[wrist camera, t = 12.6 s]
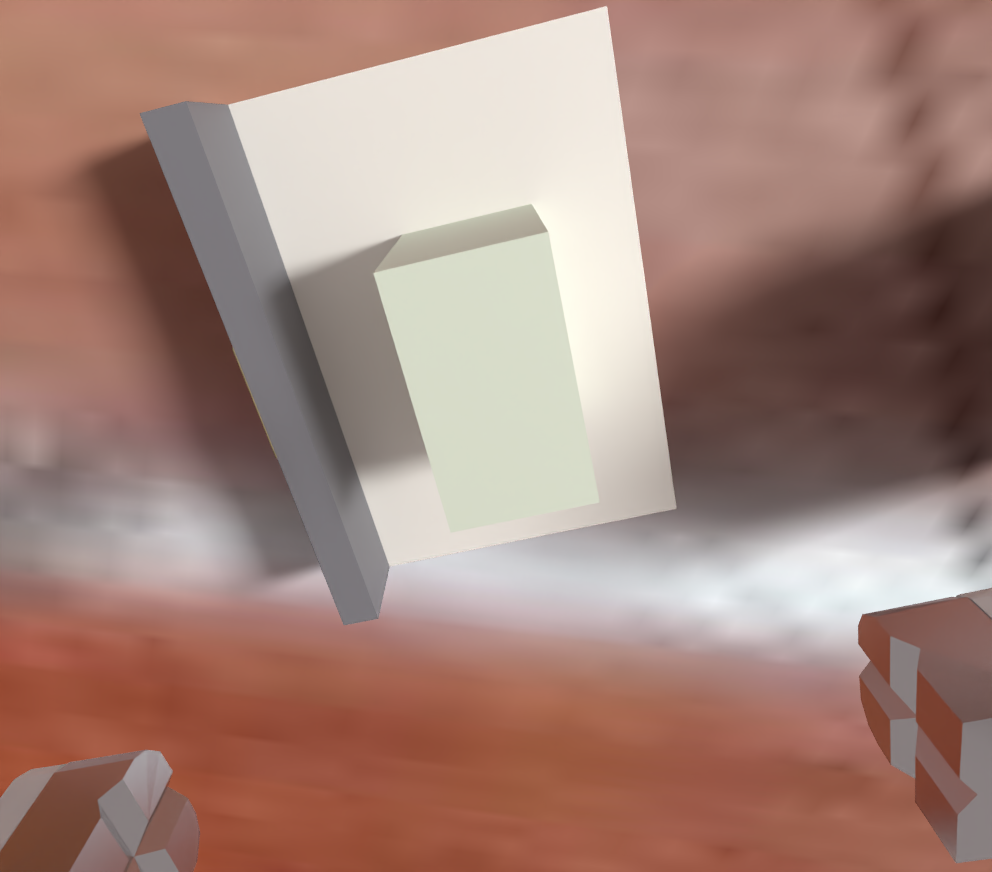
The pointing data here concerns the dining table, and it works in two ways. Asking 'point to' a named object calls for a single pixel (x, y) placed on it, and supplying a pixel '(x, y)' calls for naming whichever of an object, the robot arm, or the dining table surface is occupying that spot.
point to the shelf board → (369, 238)
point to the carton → (489, 367)
